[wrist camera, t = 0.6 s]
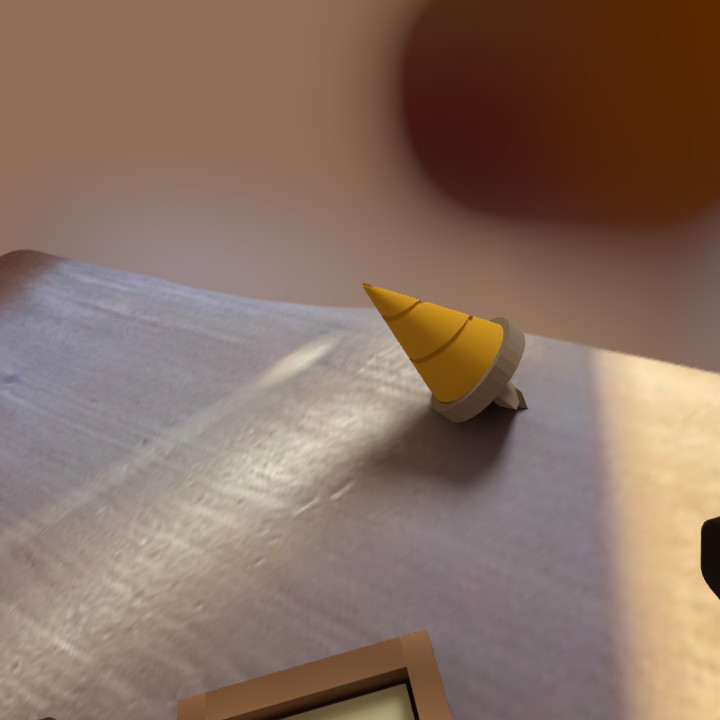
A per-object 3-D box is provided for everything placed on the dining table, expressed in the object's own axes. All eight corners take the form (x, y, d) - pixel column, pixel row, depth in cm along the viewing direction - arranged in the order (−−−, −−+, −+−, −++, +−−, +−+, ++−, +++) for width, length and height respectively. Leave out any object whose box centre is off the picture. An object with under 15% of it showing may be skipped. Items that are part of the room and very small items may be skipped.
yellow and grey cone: (504, 475, 27) (325, 347, 25) (480, 425, 32) (329, 315, 30) (587, 387, 25) (405, 244, 23) (548, 349, 30) (396, 229, 28)
